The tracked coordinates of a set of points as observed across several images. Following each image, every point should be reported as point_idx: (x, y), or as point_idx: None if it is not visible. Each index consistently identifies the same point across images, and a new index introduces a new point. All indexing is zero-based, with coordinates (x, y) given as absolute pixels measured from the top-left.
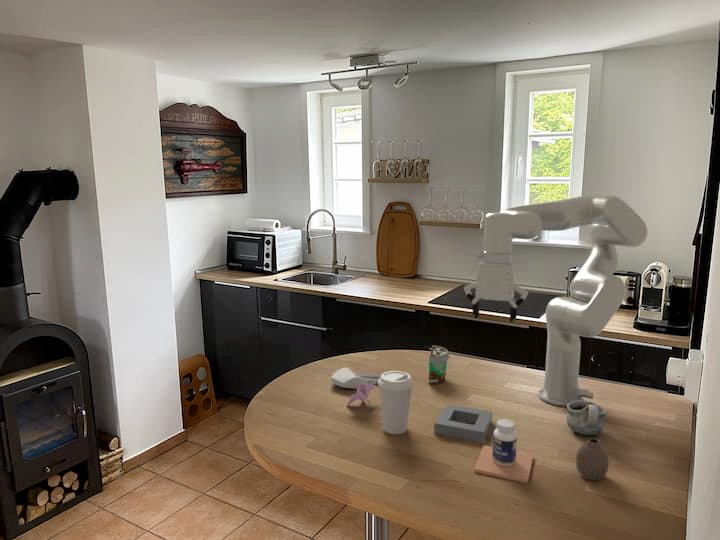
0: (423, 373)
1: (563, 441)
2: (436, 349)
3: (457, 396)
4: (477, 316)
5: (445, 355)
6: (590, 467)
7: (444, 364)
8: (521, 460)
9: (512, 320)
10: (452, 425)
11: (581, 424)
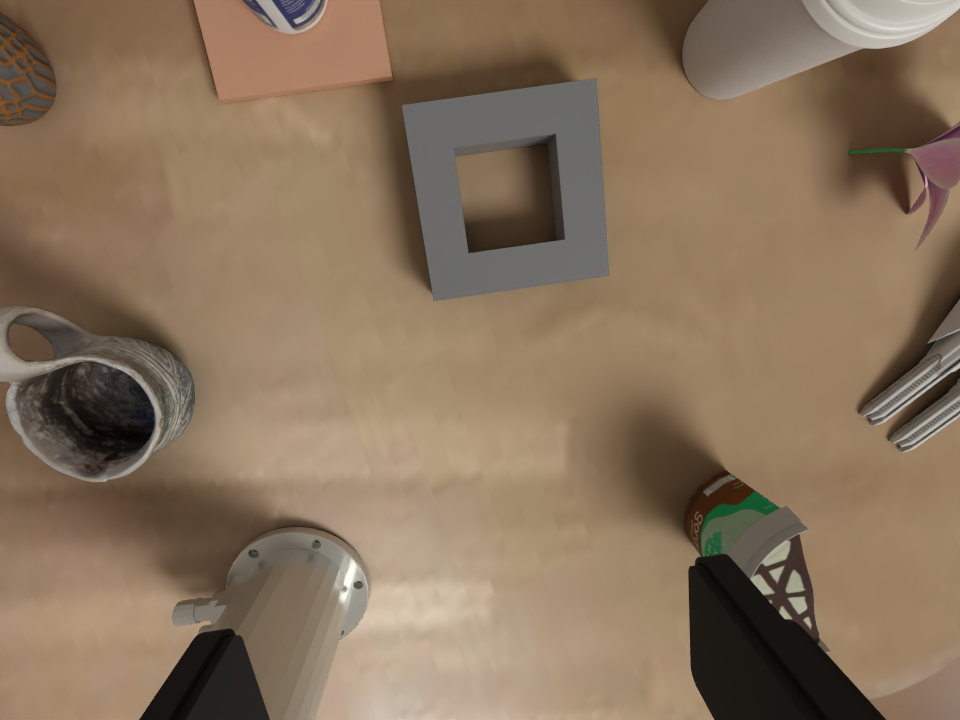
0: None
1: (184, 281)
2: None
3: (605, 428)
4: (697, 600)
5: None
6: None
7: (721, 552)
8: (237, 31)
9: (189, 652)
10: (526, 96)
11: (107, 339)
